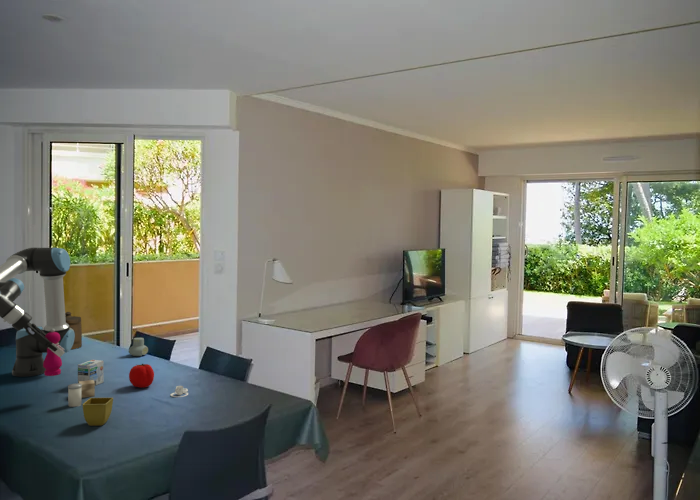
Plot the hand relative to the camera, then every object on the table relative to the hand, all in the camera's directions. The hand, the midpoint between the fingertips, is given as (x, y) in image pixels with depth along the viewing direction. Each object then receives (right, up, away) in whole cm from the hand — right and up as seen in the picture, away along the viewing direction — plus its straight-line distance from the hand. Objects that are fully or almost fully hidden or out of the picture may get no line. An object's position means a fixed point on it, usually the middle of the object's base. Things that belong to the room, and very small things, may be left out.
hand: (62, 353), depth 244 cm
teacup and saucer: (+51, -21, +11) cm, 56 cm away
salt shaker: (+9, -21, -7) cm, 24 cm away
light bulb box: (+2, -19, +23) cm, 30 cm away
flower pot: (+29, -22, -29) cm, 46 cm away
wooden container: (-48, -15, +101) cm, 113 cm away
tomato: (+27, -20, +21) cm, 40 cm away
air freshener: (+2, -17, +84) cm, 86 cm away
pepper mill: (-3, -9, -1) cm, 10 cm away
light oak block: (+8, -20, +6) cm, 22 cm away
